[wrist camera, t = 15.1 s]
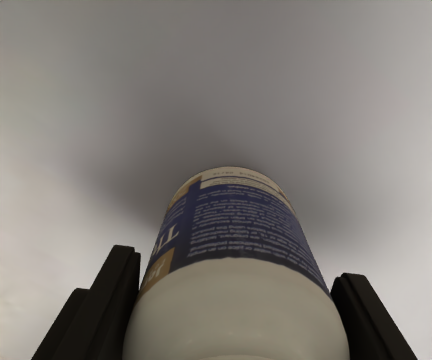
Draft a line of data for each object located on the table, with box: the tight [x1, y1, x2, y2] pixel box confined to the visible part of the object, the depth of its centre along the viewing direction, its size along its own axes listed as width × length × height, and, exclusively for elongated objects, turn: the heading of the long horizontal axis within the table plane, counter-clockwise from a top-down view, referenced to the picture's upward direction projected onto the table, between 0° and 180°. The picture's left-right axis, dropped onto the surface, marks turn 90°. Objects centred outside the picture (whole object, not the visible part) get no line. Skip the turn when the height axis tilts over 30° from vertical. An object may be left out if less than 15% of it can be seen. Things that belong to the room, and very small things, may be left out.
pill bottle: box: [122, 167, 350, 360], centre depth 10 cm, size 5×5×10 cm
